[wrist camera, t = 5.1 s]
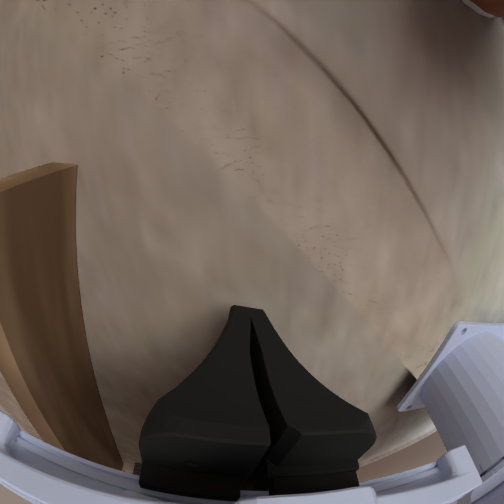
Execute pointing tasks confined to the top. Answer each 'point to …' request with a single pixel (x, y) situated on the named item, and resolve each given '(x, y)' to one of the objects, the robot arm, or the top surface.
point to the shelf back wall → (48, 315)
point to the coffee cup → (486, 7)
